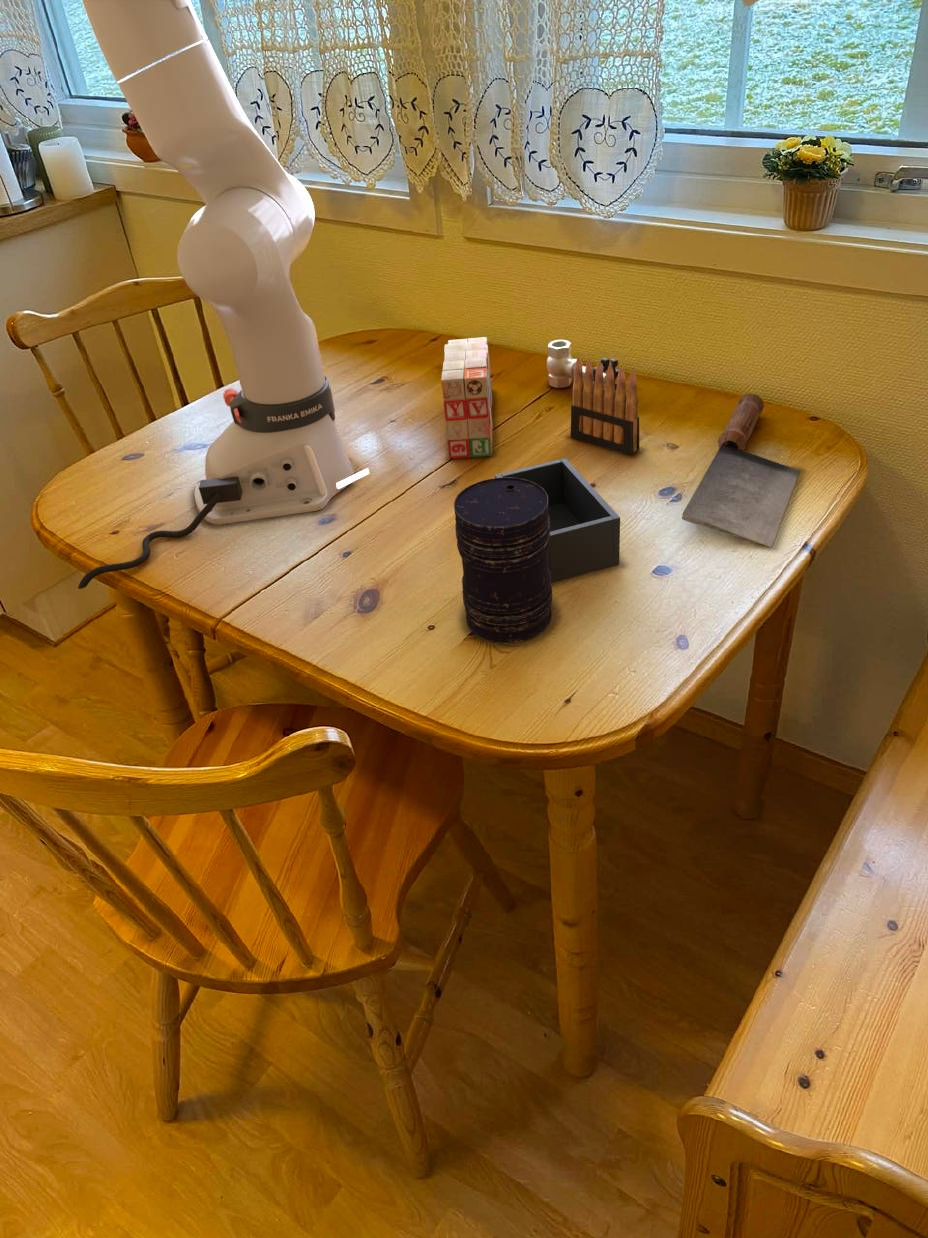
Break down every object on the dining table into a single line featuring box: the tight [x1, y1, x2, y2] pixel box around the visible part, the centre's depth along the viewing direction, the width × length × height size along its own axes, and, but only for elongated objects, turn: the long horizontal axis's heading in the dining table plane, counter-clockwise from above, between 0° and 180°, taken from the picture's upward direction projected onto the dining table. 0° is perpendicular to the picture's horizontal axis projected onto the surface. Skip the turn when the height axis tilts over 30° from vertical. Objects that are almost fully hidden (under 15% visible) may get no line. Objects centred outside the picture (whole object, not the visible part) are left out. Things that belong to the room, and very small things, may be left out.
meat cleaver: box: [681, 393, 801, 548], centre depth 122 cm, size 34×11×4 cm, turn 155°
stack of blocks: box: [440, 336, 493, 459], centre depth 137 cm, size 21×6×12 cm, turn 179°
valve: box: [546, 339, 620, 392], centre depth 145 cm, size 7×7×12 cm
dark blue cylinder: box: [453, 477, 553, 645], centre depth 99 cm, size 10×10×15 cm
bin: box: [494, 457, 621, 584], centre depth 112 cm, size 10×16×7 cm, turn 18°
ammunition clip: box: [569, 357, 640, 457], centre depth 129 cm, size 11×2×12 cm, turn 49°
